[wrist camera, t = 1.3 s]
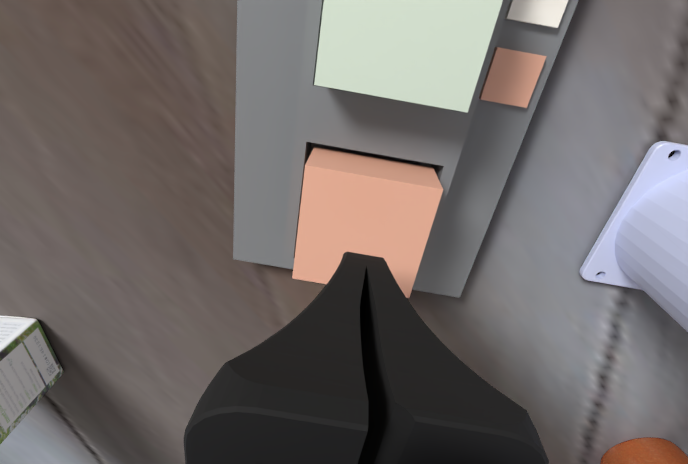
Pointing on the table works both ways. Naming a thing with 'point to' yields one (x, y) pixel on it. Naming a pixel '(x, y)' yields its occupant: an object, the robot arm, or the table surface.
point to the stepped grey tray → (380, 130)
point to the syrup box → (23, 369)
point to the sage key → (406, 48)
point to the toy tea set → (645, 452)
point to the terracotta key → (364, 214)
